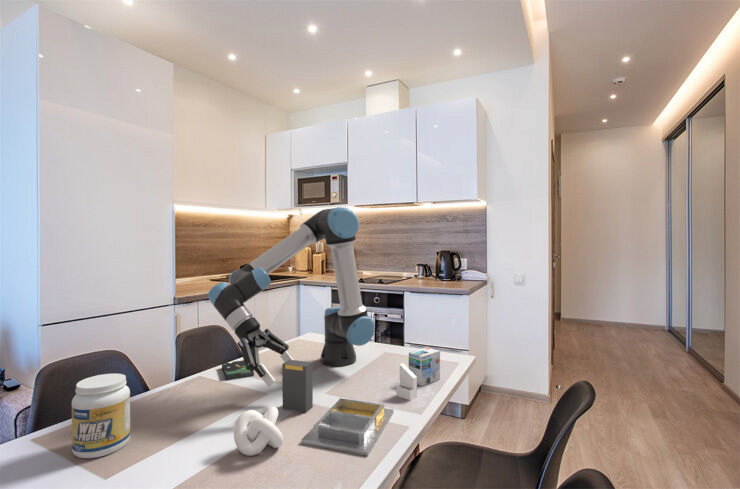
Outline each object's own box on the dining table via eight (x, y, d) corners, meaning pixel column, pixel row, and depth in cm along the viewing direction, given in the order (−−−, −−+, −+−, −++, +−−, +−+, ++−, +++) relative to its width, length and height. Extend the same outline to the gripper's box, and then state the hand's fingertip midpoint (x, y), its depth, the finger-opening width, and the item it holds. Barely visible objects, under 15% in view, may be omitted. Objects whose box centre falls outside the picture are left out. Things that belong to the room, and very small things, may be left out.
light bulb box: (421, 386, 136) (421, 356, 135) (407, 381, 141) (407, 352, 140) (440, 379, 143) (440, 350, 142) (426, 374, 148) (426, 346, 147)
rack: (338, 404, 121) (338, 393, 121) (393, 412, 115) (393, 401, 115) (301, 443, 98) (301, 430, 98) (367, 456, 93) (367, 441, 93)
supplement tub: (64, 465, 89) (63, 393, 89) (80, 440, 100) (79, 375, 100) (126, 453, 94) (125, 385, 94) (134, 430, 105) (133, 369, 105)
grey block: (290, 403, 122) (289, 359, 122) (312, 406, 120) (312, 362, 119) (282, 409, 118) (282, 364, 118) (305, 413, 115) (305, 366, 115)
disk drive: (221, 370, 155) (225, 381, 142) (221, 363, 155) (225, 374, 142) (247, 366, 160) (254, 377, 146) (247, 359, 160) (254, 369, 146)
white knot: (246, 434, 103) (245, 401, 103) (290, 434, 103) (290, 401, 103) (229, 458, 92) (229, 421, 92) (279, 459, 91) (279, 421, 91)
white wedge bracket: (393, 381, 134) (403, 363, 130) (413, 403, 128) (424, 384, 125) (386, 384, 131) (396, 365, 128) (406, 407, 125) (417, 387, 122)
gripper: (259, 323, 136) (297, 370, 132) (209, 341, 113) (252, 399, 108) (272, 309, 135) (311, 356, 130) (224, 324, 111) (268, 382, 106)
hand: (284, 376), depth 119 cm, fingers open, 13 cm apart
